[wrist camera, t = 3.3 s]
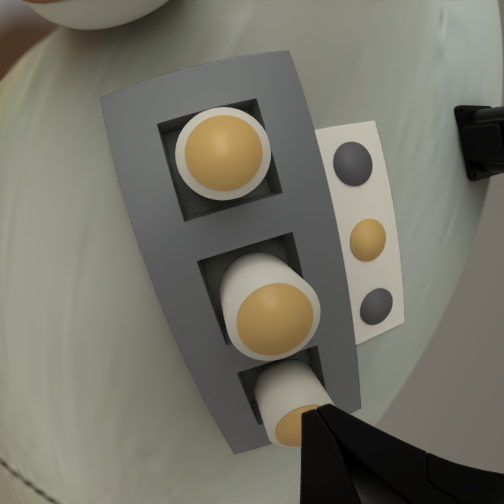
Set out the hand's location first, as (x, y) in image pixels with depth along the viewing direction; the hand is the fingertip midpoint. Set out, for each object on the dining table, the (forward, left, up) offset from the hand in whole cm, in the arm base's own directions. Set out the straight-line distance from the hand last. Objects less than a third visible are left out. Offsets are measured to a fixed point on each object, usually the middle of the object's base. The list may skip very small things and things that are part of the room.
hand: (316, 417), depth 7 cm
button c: (0, +6, -9) cm, 11 cm away
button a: (0, -8, -11) cm, 13 cm away
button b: (0, -1, -9) cm, 9 cm away
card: (-8, -1, -11) cm, 14 cm away
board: (0, -1, -11) cm, 11 cm away
